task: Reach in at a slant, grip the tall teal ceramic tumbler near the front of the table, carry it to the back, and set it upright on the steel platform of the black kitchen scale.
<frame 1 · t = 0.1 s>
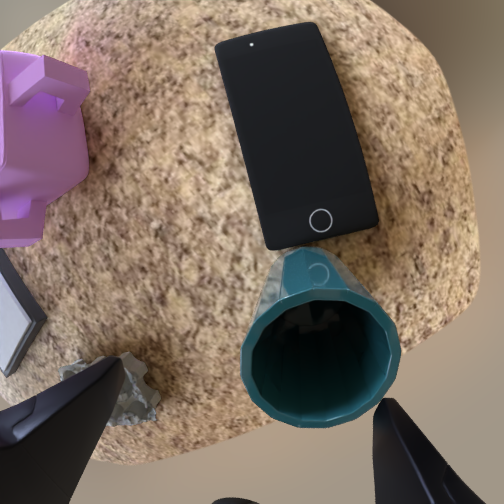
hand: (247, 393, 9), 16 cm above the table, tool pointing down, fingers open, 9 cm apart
cell phone: (294, 126, 23), on the table
tumbler: (307, 288, 25), on the table
egg carton: (115, 381, 29), on the table
teakettle: (39, 143, 26), on the table
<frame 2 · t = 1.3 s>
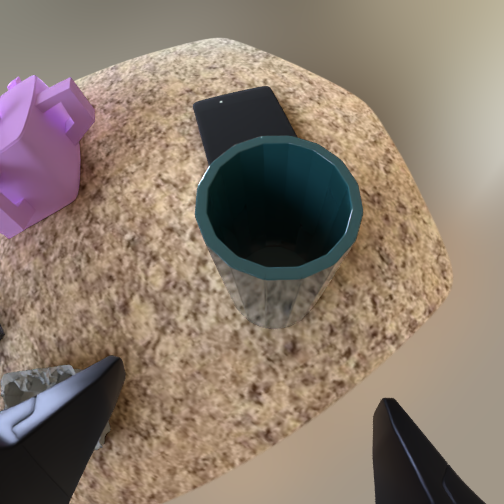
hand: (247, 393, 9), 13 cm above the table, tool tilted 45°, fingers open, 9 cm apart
cell phone: (254, 156, 29), on the table
tumbler: (274, 285, 25), on the table
egg carton: (61, 411, 21), on the table
teakettle: (38, 176, 31), on the table
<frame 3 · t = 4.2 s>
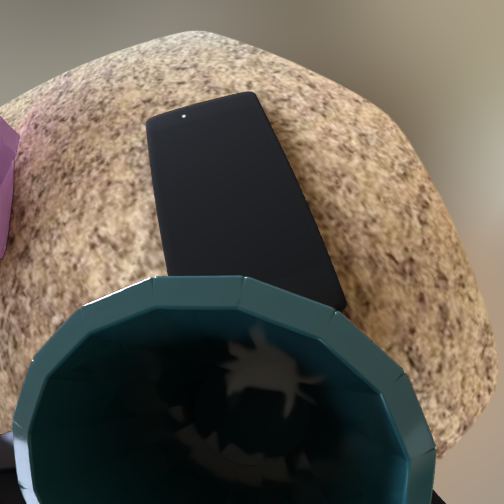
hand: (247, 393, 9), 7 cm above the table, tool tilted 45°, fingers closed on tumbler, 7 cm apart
cell phone: (227, 200, 20), on the table
tumbler: (252, 412, 15), on the table, touching gripper
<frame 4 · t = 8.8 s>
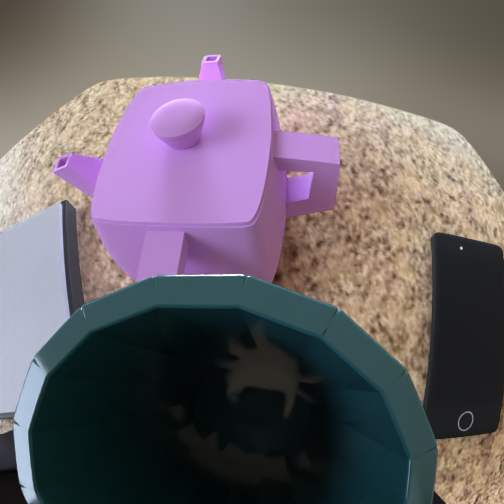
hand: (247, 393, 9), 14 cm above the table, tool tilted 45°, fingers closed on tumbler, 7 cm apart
cell phone: (467, 336, 22), on the table
tumbler: (252, 411, 15), point 7 cm above the table, touching gripper
scale: (30, 315, 25), on the table
teakettle: (206, 213, 28), on the table
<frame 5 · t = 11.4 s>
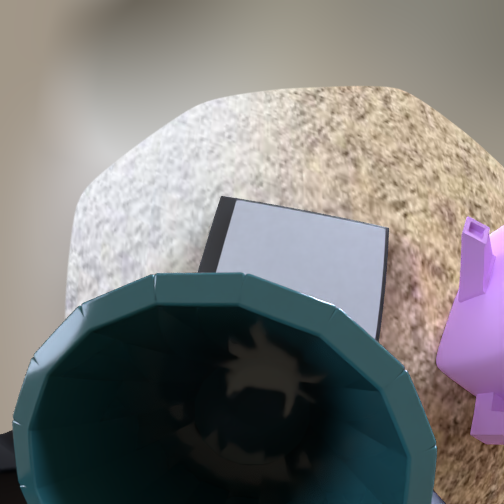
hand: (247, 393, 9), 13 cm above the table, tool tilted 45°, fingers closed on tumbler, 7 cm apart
tumbler: (252, 411, 15), point 7 cm above the table, touching gripper
scale: (281, 336, 23), on the table
teakettle: (494, 322, 22), on the table
when the fingers open (9 cm above the table, at t = 13.5 s): tumbler stays where it is, resting on scale.
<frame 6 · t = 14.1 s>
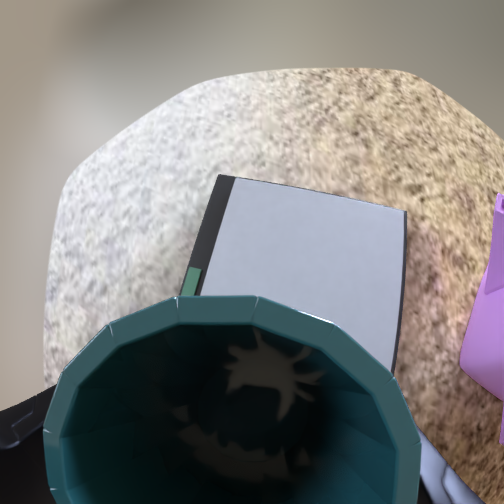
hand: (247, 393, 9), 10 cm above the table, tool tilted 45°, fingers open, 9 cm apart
tumbler: (253, 410, 16), point 3 cm above the table, touching scale
scale: (286, 334, 20), on the table
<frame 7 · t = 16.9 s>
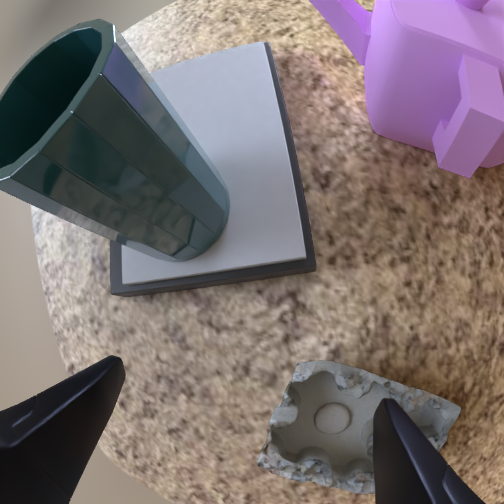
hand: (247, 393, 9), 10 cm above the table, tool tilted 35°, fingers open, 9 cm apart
tumbler: (179, 210, 20), point 3 cm above the table, touching scale
egg carton: (356, 421, 17), on the table
scale: (202, 159, 23), on the table
teakettle: (429, 88, 21), on the table
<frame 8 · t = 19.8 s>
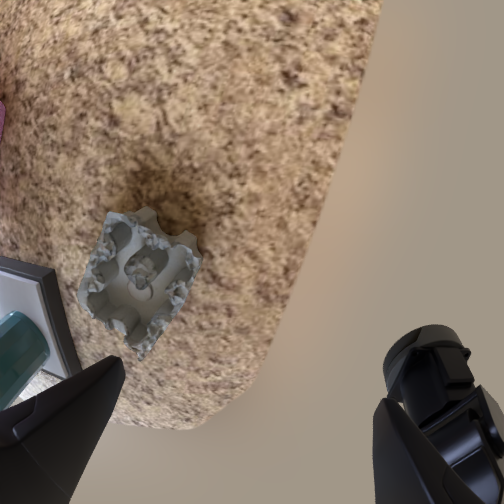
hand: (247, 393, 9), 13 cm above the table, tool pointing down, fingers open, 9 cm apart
tumbler: (28, 337, 27), point 3 cm above the table, touching scale
egg carton: (146, 270, 24), on the table
scale: (13, 308, 29), on the table
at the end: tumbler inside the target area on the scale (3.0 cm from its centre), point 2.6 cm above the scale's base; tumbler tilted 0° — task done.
